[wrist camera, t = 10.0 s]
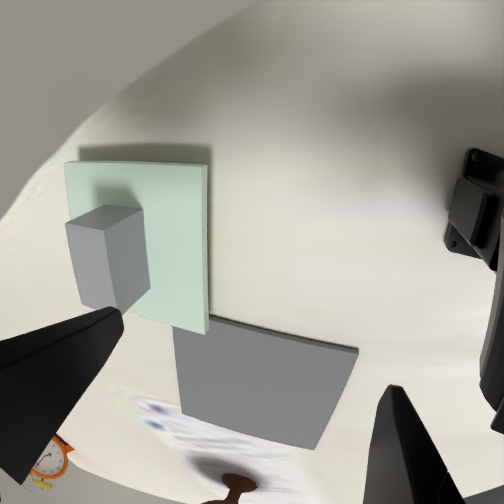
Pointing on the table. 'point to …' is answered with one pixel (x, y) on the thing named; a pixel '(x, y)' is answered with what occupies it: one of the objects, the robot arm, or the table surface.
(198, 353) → the mat
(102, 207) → the cover
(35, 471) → the alarm clock
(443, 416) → the table surface
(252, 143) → the table surface
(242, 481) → the ice cream bowl
